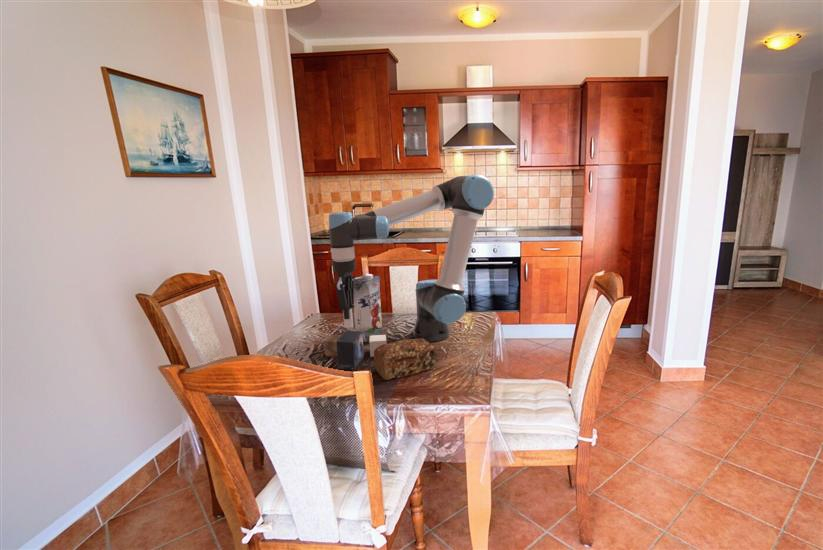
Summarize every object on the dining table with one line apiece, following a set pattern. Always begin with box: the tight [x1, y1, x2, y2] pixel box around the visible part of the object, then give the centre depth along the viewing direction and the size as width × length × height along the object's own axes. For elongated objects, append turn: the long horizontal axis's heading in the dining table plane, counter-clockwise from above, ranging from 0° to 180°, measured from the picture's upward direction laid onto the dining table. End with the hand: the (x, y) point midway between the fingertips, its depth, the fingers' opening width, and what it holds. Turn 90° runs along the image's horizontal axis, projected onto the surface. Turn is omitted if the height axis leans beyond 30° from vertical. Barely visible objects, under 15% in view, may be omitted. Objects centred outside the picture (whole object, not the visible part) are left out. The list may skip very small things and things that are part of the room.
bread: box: [373, 338, 436, 381], centre depth 131 cm, size 19×11×10 cm, turn 115°
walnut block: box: [323, 334, 342, 358], centre depth 147 cm, size 6×6×6 cm
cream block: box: [368, 334, 387, 358], centre depth 146 cm, size 6×6×6 cm
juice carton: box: [352, 273, 383, 344], centre depth 158 cm, size 9×10×27 cm
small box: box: [336, 330, 365, 371], centre depth 137 cm, size 11×6×10 cm, turn 168°
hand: (348, 326), depth 135 cm, fingers closed
